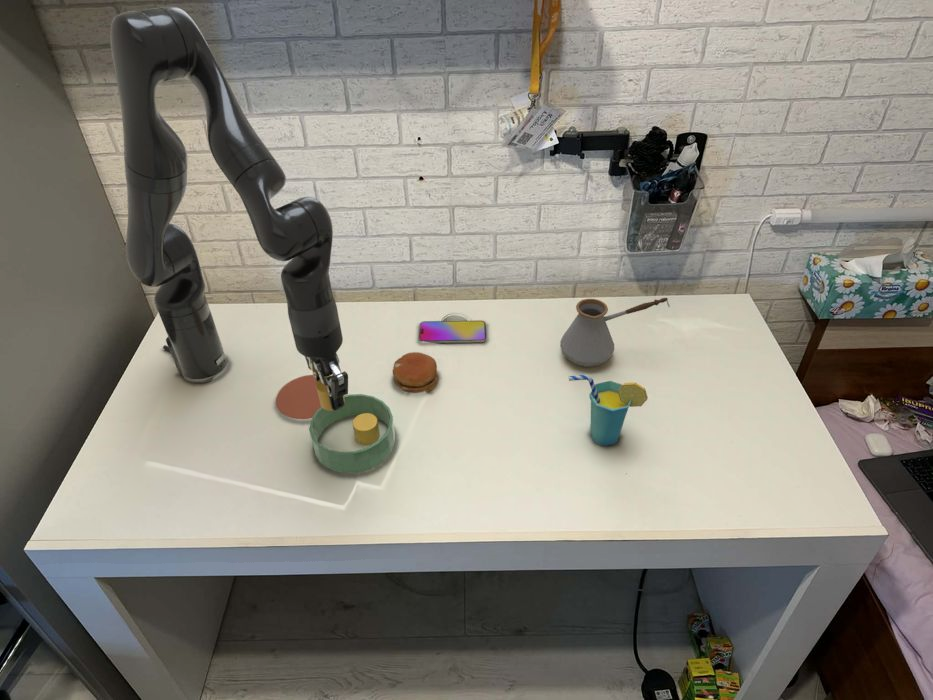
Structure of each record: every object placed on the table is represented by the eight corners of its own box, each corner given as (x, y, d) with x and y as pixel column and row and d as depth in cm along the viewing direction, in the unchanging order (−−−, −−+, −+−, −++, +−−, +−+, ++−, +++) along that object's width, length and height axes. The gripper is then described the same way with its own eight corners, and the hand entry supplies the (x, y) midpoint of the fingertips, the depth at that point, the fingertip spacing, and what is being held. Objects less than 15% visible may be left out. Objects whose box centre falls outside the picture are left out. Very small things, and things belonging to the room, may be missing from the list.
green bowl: (301, 466, 119) (294, 444, 116) (335, 410, 130) (331, 388, 127) (377, 483, 116) (374, 461, 112) (406, 424, 127) (404, 401, 123)
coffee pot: (562, 373, 138) (567, 316, 128) (556, 339, 146) (561, 283, 137) (664, 372, 137) (677, 315, 128) (652, 338, 146) (664, 282, 136)
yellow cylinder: (316, 408, 114) (311, 389, 111) (326, 392, 117) (322, 373, 114) (338, 412, 113) (334, 393, 110) (348, 396, 116) (344, 377, 113)
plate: (264, 415, 130) (263, 412, 129) (295, 373, 139) (294, 370, 139) (324, 428, 127) (323, 424, 126) (351, 383, 136) (351, 380, 136)
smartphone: (486, 340, 145) (418, 341, 145) (486, 342, 146) (418, 343, 146) (485, 320, 151) (420, 321, 151) (485, 322, 152) (420, 323, 152)
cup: (562, 448, 122) (569, 389, 112) (562, 418, 127) (568, 359, 118) (639, 453, 120) (652, 394, 111) (635, 422, 126) (647, 364, 117)
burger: (444, 389, 135) (443, 372, 132) (400, 400, 132) (398, 383, 129) (430, 360, 142) (429, 343, 139) (388, 370, 140) (386, 353, 137)
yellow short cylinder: (351, 442, 123) (348, 428, 120) (361, 425, 126) (358, 411, 124) (374, 447, 122) (371, 432, 119) (383, 430, 125) (381, 415, 123)
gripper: (274, 308, 106) (295, 386, 117) (312, 353, 97) (330, 433, 108) (317, 292, 110) (333, 370, 120) (357, 334, 100) (370, 414, 111)
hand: (331, 399), depth 114 cm, fingers closed on yellow cylinder, 4 cm apart
